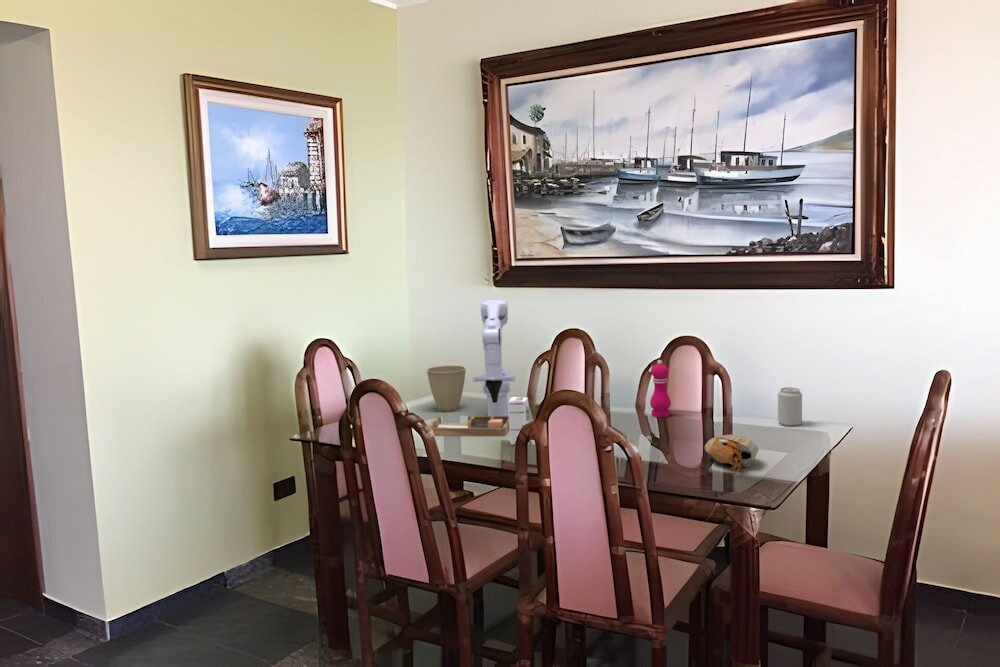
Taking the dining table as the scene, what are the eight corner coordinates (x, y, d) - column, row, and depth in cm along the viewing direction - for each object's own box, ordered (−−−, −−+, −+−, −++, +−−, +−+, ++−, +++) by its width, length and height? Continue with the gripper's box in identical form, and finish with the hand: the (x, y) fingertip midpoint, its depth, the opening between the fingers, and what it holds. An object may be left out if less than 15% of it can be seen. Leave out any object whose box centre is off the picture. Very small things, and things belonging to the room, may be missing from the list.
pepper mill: (671, 417, 282) (670, 361, 279) (650, 418, 283) (649, 362, 281) (670, 412, 289) (669, 358, 286) (650, 413, 290) (649, 358, 288)
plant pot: (466, 413, 302) (463, 371, 300) (426, 414, 303) (424, 373, 301) (469, 404, 317) (467, 364, 315) (431, 405, 318) (429, 365, 316)
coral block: (491, 430, 274) (491, 419, 273) (503, 430, 273) (502, 419, 273) (489, 433, 270) (488, 422, 269) (501, 433, 269) (500, 422, 269)
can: (778, 426, 265) (778, 391, 263) (777, 420, 272) (777, 386, 270) (802, 427, 263) (802, 391, 261) (801, 421, 270) (801, 386, 268)
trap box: (438, 424, 288) (438, 416, 288) (513, 424, 283) (512, 416, 283) (426, 437, 271) (425, 428, 271) (504, 437, 266) (504, 428, 266)
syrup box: (527, 445, 257) (525, 400, 255) (509, 444, 258) (507, 400, 256) (530, 440, 262) (528, 396, 260) (512, 440, 263) (510, 396, 261)
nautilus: (758, 481, 215) (700, 480, 220) (760, 453, 235) (707, 453, 240) (756, 453, 213) (698, 452, 218) (758, 427, 233) (705, 427, 238)
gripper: (470, 365, 273) (472, 404, 275) (512, 365, 270) (513, 404, 272) (474, 361, 280) (476, 400, 282) (515, 361, 277) (517, 399, 279)
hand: (495, 402), depth 277 cm, fingers closed
